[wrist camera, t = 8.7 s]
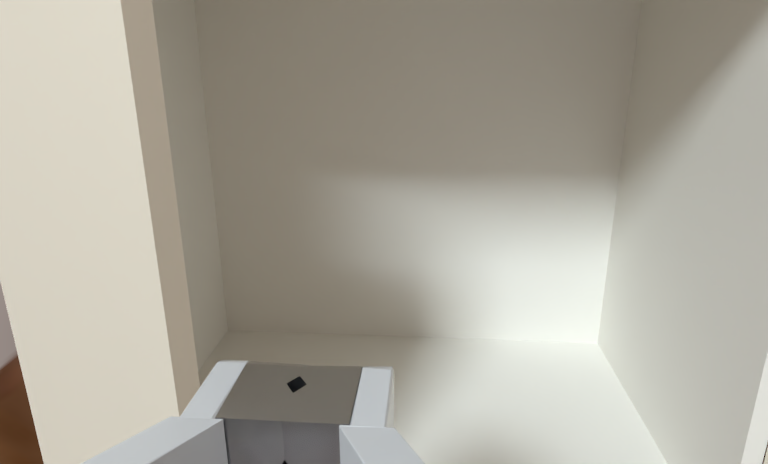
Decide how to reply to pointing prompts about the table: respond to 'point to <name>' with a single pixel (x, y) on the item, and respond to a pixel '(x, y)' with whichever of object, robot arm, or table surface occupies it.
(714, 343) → the carton
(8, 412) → the table surface
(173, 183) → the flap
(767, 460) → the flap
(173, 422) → the robot arm
